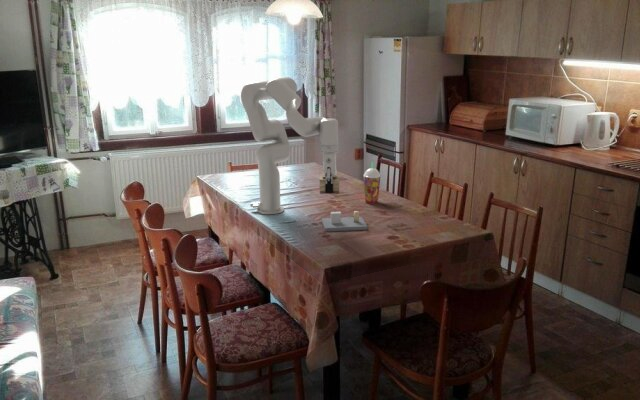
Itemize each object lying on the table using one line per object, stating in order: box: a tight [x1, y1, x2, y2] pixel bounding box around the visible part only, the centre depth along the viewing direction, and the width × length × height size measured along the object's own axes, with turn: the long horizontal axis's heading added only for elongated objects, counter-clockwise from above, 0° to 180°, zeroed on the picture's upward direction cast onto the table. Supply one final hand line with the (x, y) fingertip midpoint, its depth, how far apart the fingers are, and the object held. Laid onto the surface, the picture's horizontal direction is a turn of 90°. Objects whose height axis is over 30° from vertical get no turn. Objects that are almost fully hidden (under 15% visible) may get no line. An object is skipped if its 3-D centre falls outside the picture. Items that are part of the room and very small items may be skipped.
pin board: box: [320, 210, 368, 232], centre depth 232 cm, size 18×13×6 cm
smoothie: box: [363, 162, 381, 205], centre depth 263 cm, size 8×8×20 cm
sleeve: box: [319, 175, 340, 195], centre depth 226 cm, size 6×8×6 cm
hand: (329, 190), depth 227 cm, fingers closed on sleeve, 6 cm apart
